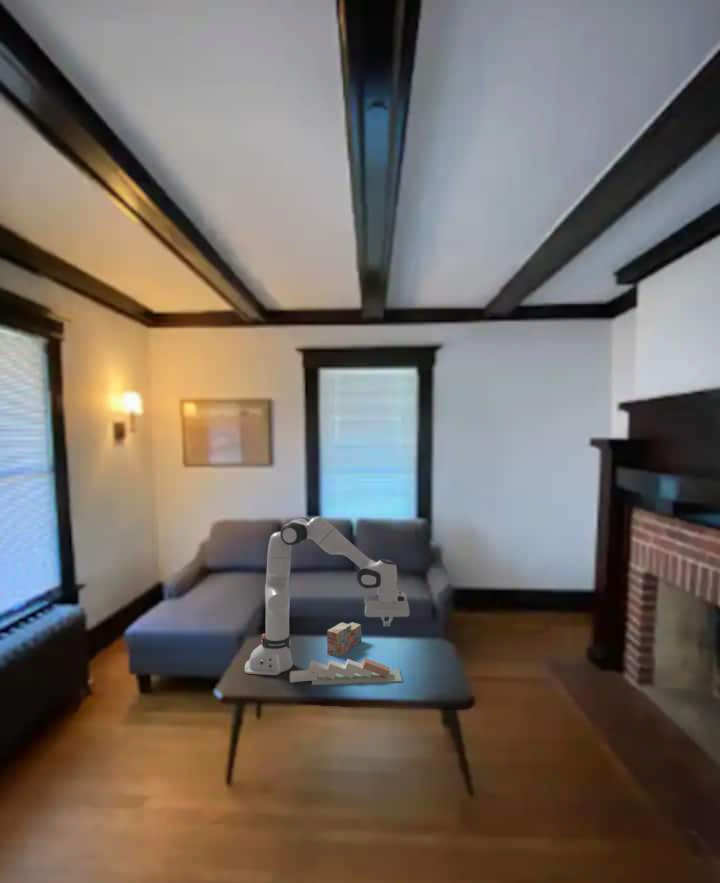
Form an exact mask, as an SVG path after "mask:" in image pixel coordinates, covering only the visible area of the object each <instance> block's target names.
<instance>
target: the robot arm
mask: <svg viewBox="0 0 720 883" xmlns="http://www.w3.org/2000/svg"><path fill="white" fill-rule="evenodd" d="M308 539H309V540H312V541H313V542H315V544H317V546H318V547H320V549H321V550H323V551H324V552H326V553H327V554H329V555H333V556H334V555H339V556H340V555H341V556H345V557H346V558H348V559H349V560H350V561H351V562H353V563H354V564H355V565H356V566H358V567H359V570H358V572H357V574H356V581H357V583H358V585H359V586H360V587H361V588H364V589H375V588H377V595H367V596H365V597H364V599H363V600H364V602H363V604H364V616H365V617H366V618H380V619H381V621H382V623H383V627H391V623H392V622H393V619H394V618H398V617H399V618H400V617H401V618H403V617H404V618H406V617H409V616H410V605H409V602H408V596H407V595H406V593H405V592H403V591H400V590H398V587H397V582H398V568H397V565H396V562H395V561H393V559H389V558H380V559H379V560H377V559H374V558H372V557H369V556H368V555H367V554H365V553H364V552H363V551H362V550H361V549H360V548H358V546H356V545H354V544H353V543H352V542H350V540H349V539H347V537H345V536H344V535H343V534H342V533H341V532H340V531H339V530H338V529H337V528H336V527H335V526H334V525H333V524H332V523H330V522H329V521H327V520H326V519H324V518H323V517H322V516H314V517H312V518H311V519H308V518H306V517H298V518H294V519H292V520H290V521H289V522H288V523H286V524H284V526H282V528H281V531H276V532H273V533H272V534H271V535H270V538H269V542H268V547H267V557H266V558H267V559H266V560H267V561H266V575H265V585H264V586H265V588H264V596H265V597H264V598H265V633H262V634H261V642H260V644H259V645H258V646H257V647H256V648H254V649H253V650H252V652H251V653H250V656H249V659H248V660H247V661H246V662H245V665H244V672H245V673H246V674H249V675H250V674H251V675H263V676H264V675H266V676H278V675H280V674H281V673H283V672H286V671H289V670H290V669H291V668H292V667H293V664H294V662H293V660H292V654H291V634H290V604H291V602H290V601H291V599H290V593H289V581H290V574H291V561H292V560H291V559H292V546H297V545H299V544H301V543H303V542H304V541H306V540H308ZM385 618H389V620H387V621H385Z"/></svg>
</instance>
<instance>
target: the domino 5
mask: <svg viewBox="0 0 720 883" xmlns="http://www.w3.org/2000/svg"><path fill="white" fill-rule="evenodd" d="M361 664H362V666H363V669H366V670H369V671H371V672H374V673H377V674H379V675H382V676H384V677H387V678H388V675H389V673H390V670H391V669H390V666H387V665H384V664H381V663H379V662H376V661H374V660H372V659H369V658H366V657H364V659H363V661H362V663H361Z"/></svg>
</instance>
